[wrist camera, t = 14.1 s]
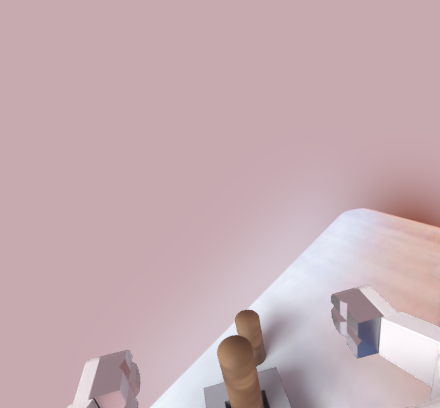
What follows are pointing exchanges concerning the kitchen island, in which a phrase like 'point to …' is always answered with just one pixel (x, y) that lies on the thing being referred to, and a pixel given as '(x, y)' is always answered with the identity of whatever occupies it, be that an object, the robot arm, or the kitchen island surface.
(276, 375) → the socket block
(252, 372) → the long dowel
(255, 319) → the short dowel
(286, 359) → the kitchen island surface
